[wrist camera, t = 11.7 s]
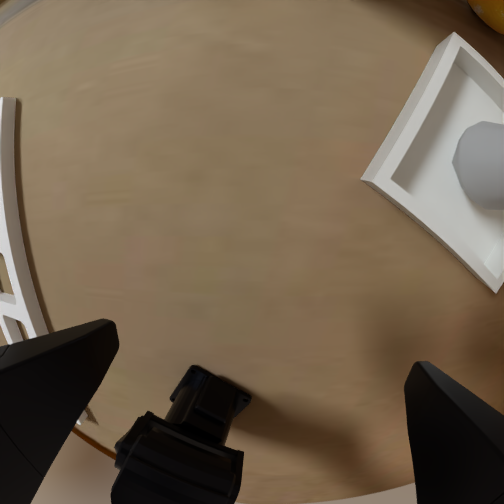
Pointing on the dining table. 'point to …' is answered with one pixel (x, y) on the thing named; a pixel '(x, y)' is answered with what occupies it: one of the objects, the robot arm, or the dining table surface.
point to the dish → (445, 157)
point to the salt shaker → (482, 164)
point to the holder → (15, 245)
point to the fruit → (490, 13)
